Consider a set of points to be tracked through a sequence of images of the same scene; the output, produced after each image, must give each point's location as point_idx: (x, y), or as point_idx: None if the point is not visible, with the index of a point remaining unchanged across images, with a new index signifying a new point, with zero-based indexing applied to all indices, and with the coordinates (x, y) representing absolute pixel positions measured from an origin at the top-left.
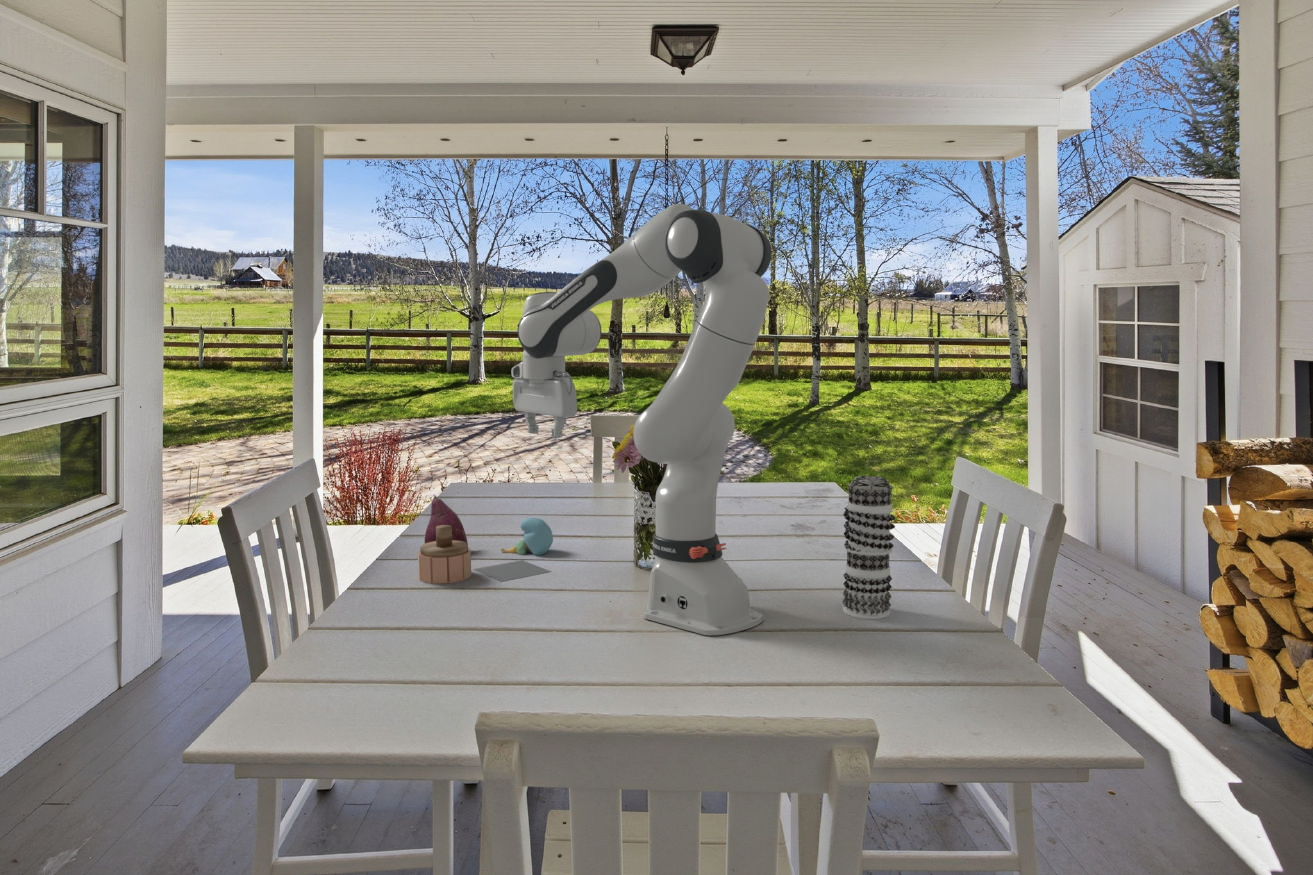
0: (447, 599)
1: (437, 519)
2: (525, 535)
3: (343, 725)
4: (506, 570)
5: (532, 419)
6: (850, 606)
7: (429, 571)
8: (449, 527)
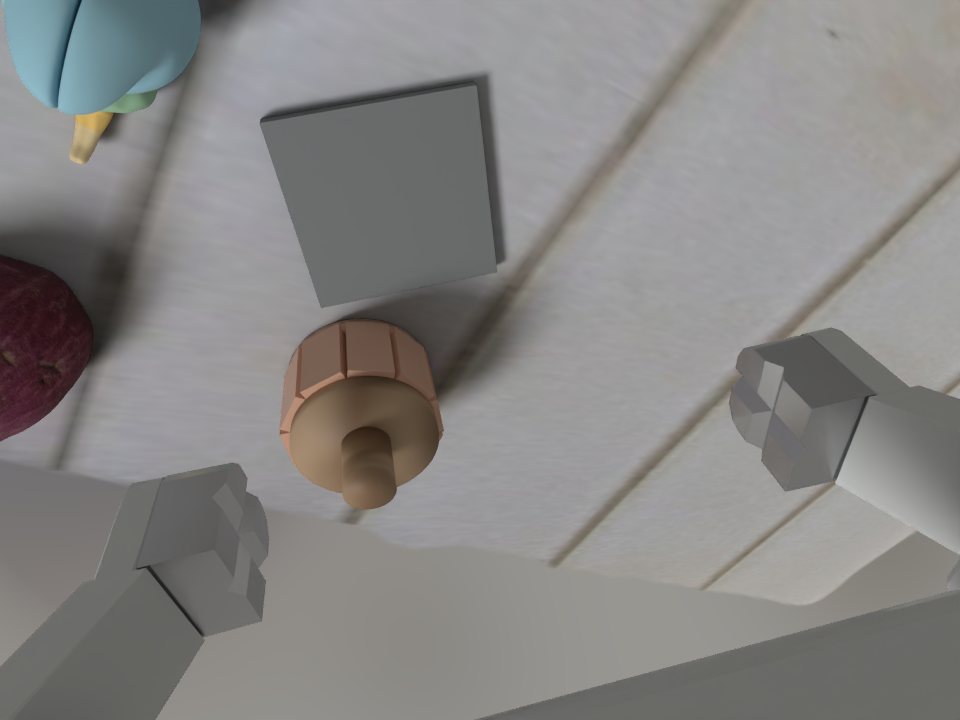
0: (529, 395)
1: None
2: (134, 92)
3: (871, 530)
4: (383, 222)
5: (91, 699)
6: None
7: None
8: (389, 479)
